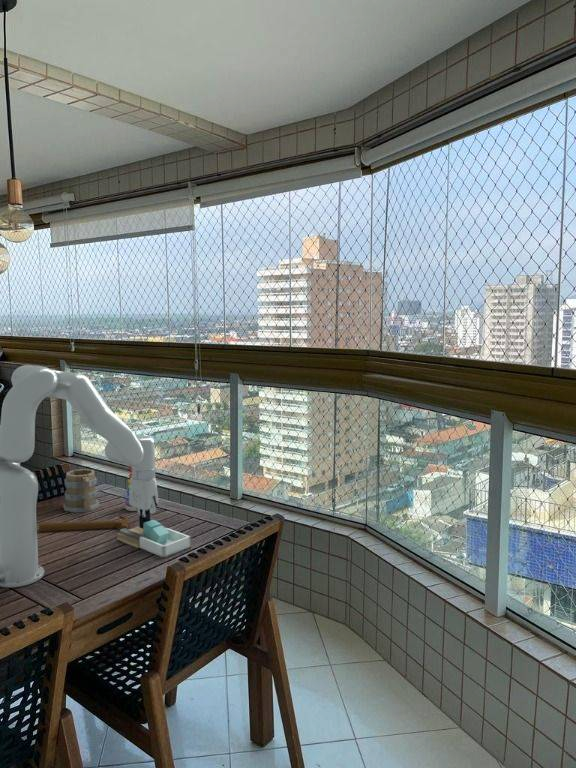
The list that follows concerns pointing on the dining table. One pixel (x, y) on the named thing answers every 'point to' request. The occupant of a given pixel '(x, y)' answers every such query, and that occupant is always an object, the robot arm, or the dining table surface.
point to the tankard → (80, 491)
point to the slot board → (131, 536)
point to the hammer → (85, 525)
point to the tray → (167, 544)
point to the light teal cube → (159, 534)
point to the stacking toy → (128, 506)
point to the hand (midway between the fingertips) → (144, 526)
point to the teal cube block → (149, 527)
